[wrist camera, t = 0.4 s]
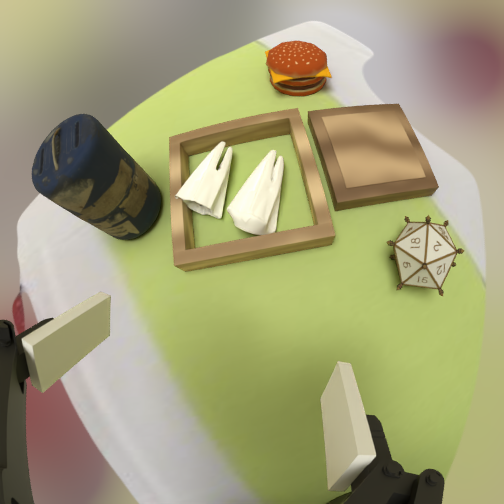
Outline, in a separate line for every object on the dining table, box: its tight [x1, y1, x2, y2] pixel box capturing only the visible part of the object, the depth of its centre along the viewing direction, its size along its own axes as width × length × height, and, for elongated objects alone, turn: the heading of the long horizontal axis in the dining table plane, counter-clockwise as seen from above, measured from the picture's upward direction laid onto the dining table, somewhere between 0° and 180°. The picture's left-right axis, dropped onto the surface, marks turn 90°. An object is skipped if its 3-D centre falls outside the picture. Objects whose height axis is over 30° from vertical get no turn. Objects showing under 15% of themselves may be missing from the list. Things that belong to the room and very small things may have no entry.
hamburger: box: [265, 41, 332, 96], centre depth 37 cm, size 9×10×7 cm
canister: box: [32, 114, 161, 240], centre depth 29 cm, size 10×10×18 cm
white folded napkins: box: [175, 141, 284, 235], centre depth 34 cm, size 12×4×11 cm
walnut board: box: [308, 104, 439, 211], centre depth 33 cm, size 14×14×3 cm
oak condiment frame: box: [169, 108, 335, 272], centre depth 34 cm, size 18×18×4 cm
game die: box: [387, 215, 464, 296], centre depth 27 cm, size 9×8×10 cm
